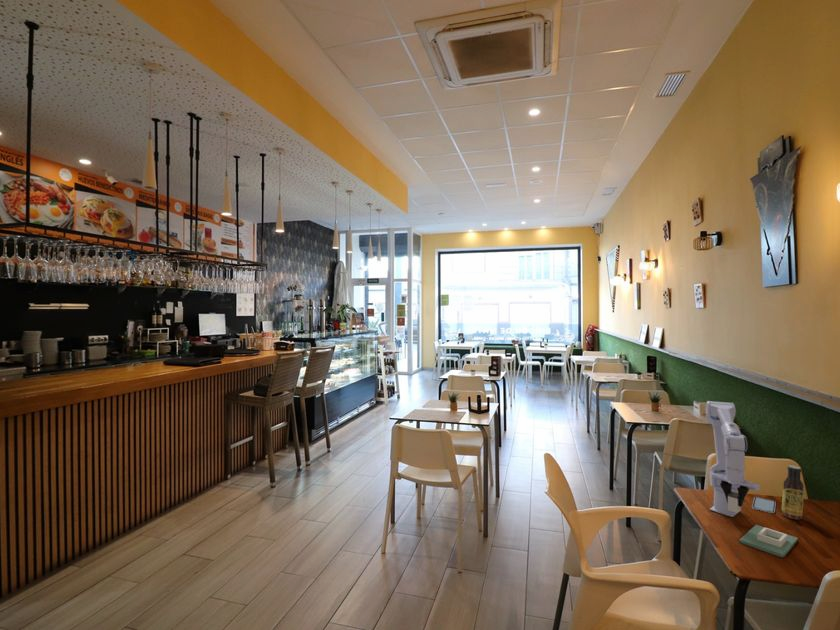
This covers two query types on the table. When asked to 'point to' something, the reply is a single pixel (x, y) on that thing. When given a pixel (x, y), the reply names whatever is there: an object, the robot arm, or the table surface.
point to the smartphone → (764, 505)
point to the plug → (733, 502)
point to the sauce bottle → (793, 494)
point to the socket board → (769, 540)
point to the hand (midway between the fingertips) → (734, 504)
